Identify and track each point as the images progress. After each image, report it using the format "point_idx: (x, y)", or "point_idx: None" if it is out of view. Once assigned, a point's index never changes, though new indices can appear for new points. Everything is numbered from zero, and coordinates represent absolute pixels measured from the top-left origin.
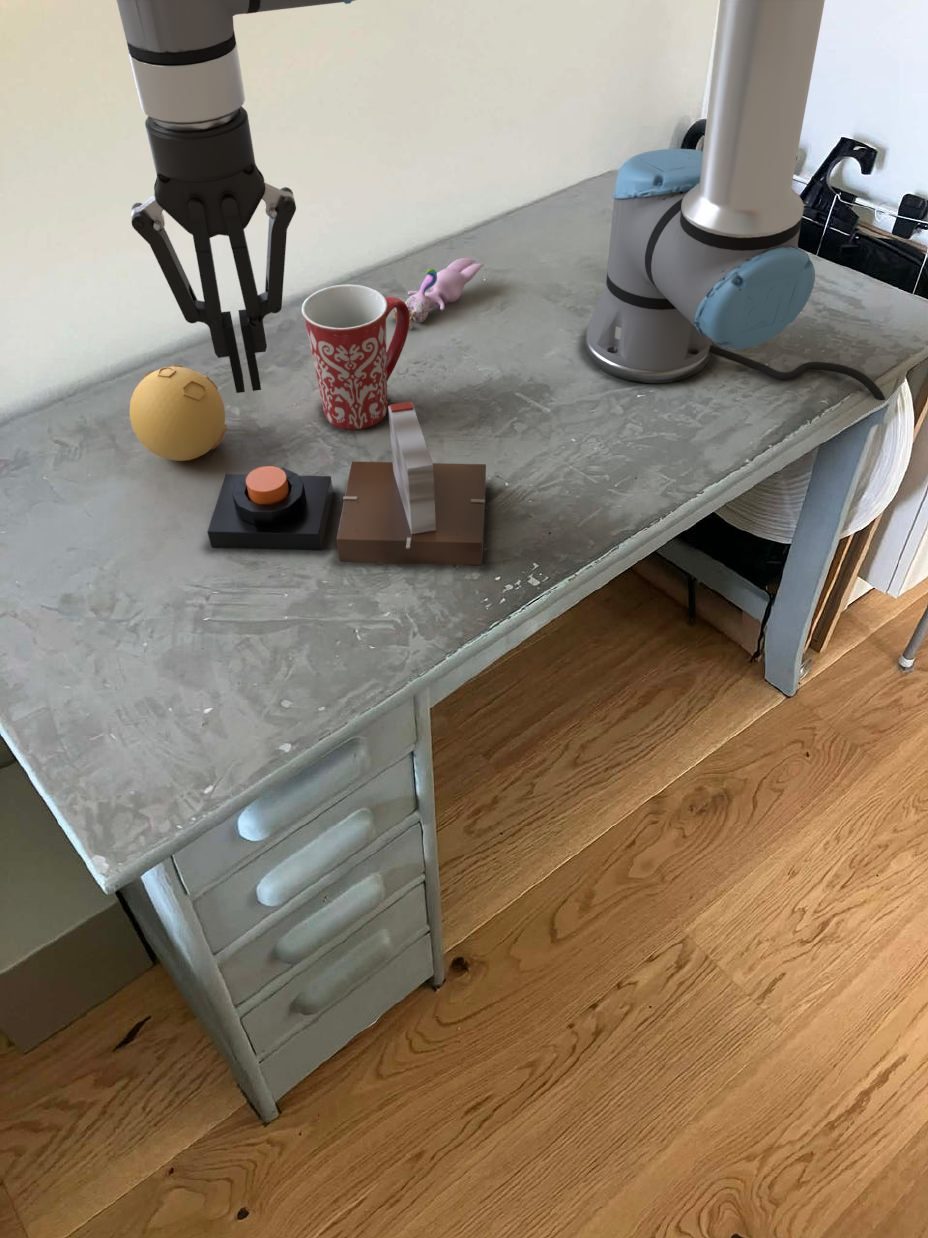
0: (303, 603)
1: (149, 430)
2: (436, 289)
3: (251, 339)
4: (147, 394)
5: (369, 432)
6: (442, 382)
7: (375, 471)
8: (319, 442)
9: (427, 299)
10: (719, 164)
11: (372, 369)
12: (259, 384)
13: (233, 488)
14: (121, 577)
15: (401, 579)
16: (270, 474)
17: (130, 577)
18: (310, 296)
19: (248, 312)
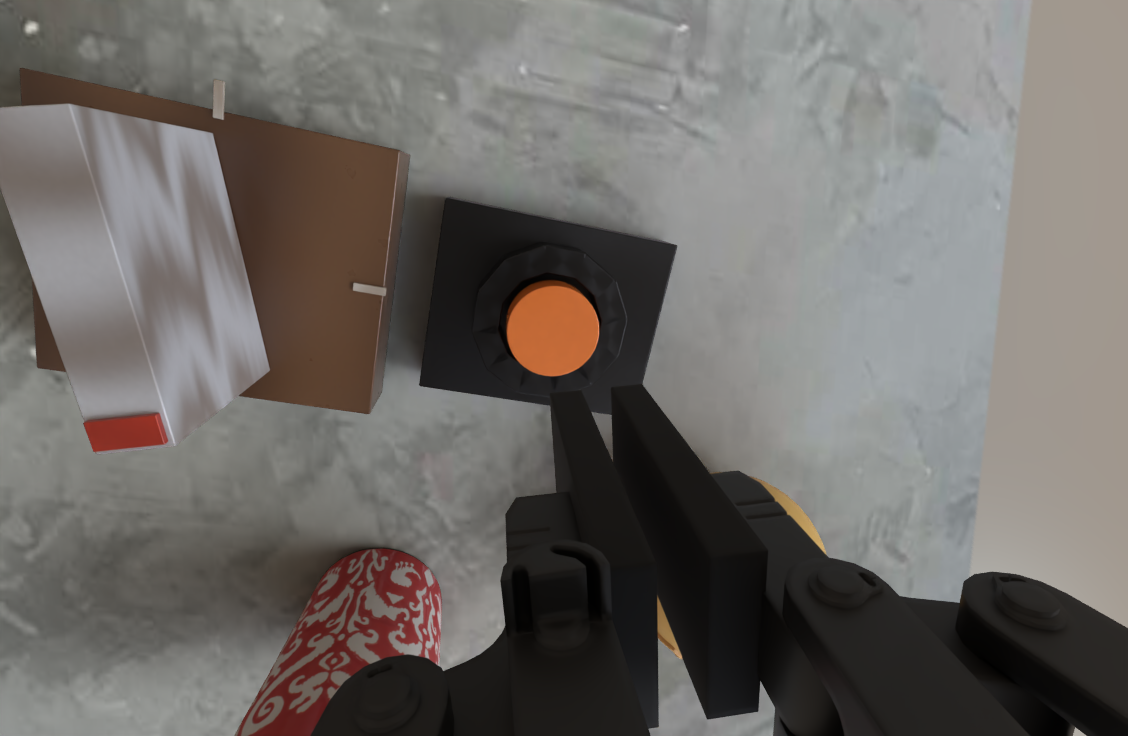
0: (487, 34)
1: (792, 507)
2: None
3: (584, 509)
4: None
5: (352, 539)
6: (203, 670)
7: (313, 373)
8: (452, 519)
9: None
10: None
11: (289, 656)
12: (554, 402)
13: (620, 371)
14: (829, 186)
15: (270, 70)
16: (543, 344)
17: (813, 183)
18: None
19: (605, 652)
